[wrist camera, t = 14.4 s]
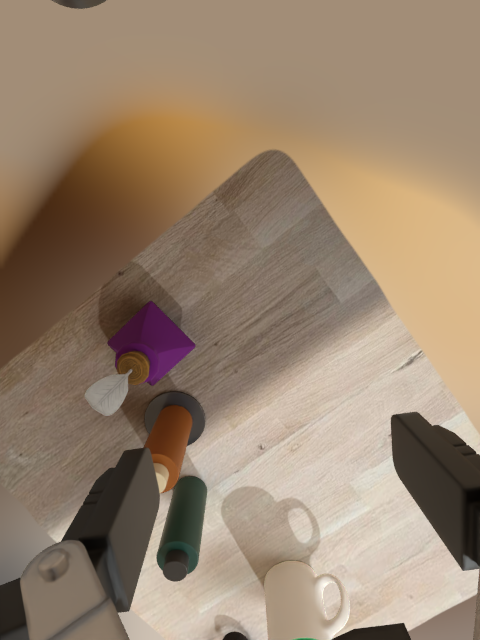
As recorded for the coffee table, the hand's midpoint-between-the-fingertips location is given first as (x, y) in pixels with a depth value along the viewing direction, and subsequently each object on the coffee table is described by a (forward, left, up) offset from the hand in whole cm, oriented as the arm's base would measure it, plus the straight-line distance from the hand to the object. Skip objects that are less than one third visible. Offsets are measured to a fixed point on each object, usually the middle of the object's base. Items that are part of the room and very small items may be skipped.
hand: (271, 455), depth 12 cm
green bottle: (-2, -28, -33) cm, 43 cm away
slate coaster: (-6, -18, -33) cm, 38 cm away
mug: (+17, -39, -33) cm, 54 cm away
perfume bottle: (-10, -7, -33) cm, 35 cm away
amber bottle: (-6, -18, -33) cm, 37 cm away
